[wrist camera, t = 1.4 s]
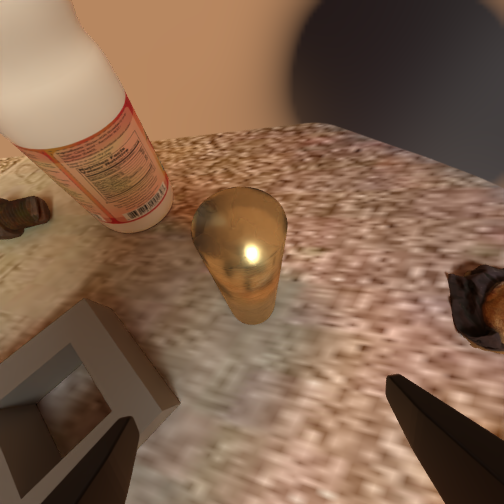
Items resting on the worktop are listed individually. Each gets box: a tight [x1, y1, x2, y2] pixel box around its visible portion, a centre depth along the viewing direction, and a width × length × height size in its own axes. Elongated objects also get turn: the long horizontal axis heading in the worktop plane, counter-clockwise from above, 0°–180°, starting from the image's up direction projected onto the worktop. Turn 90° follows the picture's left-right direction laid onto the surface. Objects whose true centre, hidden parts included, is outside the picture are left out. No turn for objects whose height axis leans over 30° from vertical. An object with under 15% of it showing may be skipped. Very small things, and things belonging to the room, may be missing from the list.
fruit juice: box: [0, 0, 173, 233], centre depth 17 cm, size 9×9×28 cm
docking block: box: [0, 298, 181, 504], centre depth 18 cm, size 11×11×4 cm
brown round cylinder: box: [191, 187, 287, 325], centre depth 17 cm, size 4×4×14 cm
